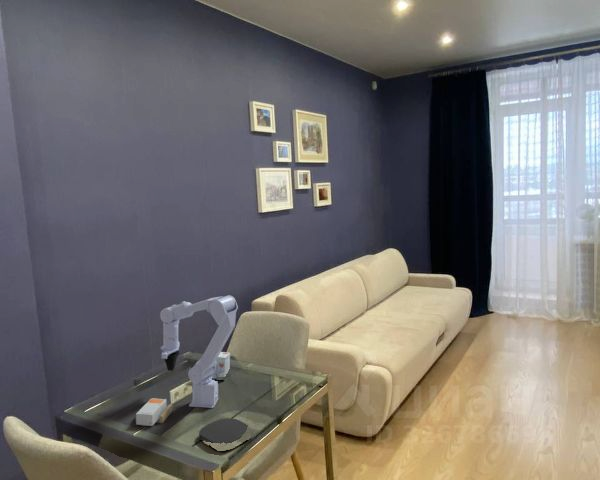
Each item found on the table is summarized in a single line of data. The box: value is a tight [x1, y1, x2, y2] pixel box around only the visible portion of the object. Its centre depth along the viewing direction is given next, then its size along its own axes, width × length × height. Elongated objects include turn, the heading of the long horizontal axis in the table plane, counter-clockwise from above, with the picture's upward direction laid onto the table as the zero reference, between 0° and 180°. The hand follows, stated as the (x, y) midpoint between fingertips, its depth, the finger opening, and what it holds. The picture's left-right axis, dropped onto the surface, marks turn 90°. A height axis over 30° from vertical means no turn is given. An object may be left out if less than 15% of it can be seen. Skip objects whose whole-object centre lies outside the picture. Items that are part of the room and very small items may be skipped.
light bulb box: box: [212, 351, 231, 378], centre depth 193 cm, size 11×7×11 cm, turn 81°
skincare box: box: [135, 397, 168, 427], centre depth 157 cm, size 6×4×12 cm
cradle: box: [155, 404, 173, 424], centre depth 159 cm, size 10×9×2 cm
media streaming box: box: [198, 417, 249, 444], centre depth 146 cm, size 15×15×3 cm
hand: (170, 369), depth 175 cm, fingers closed
